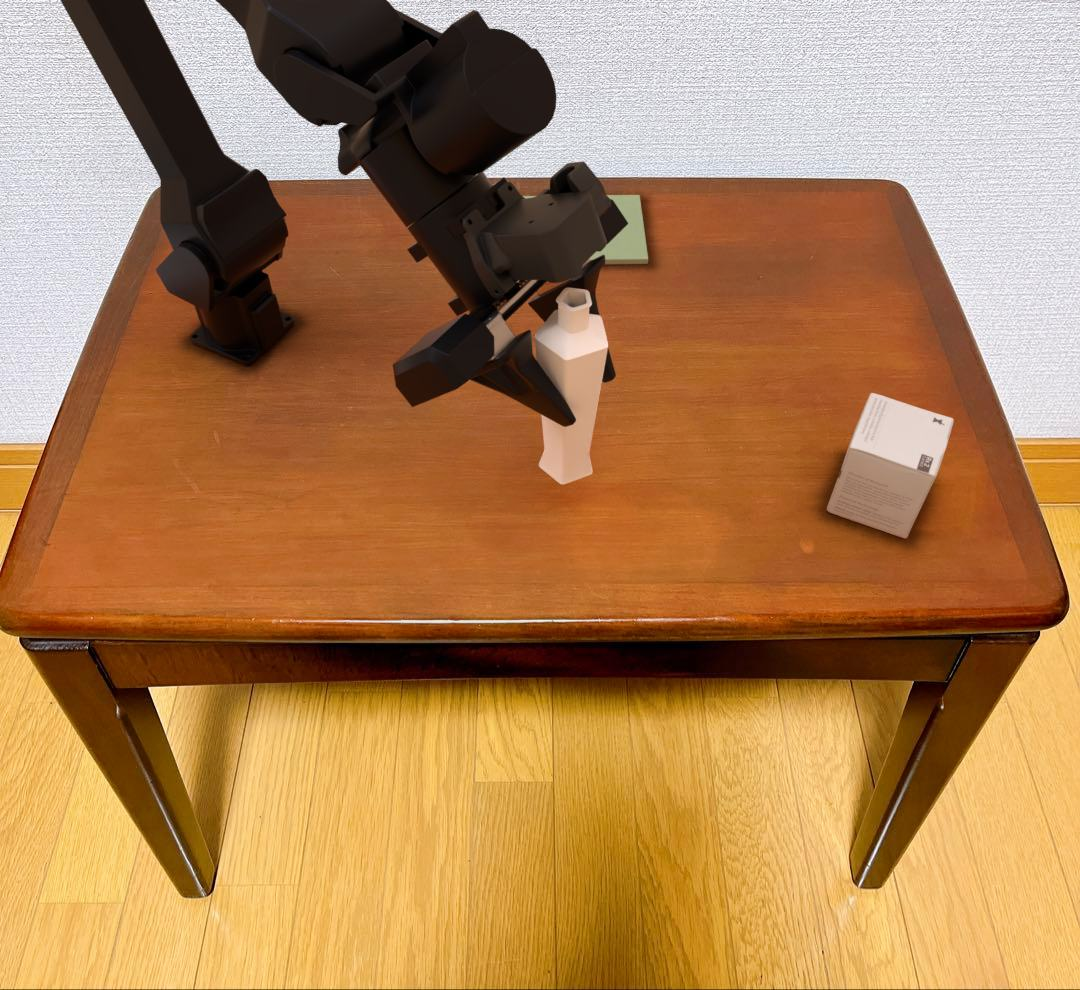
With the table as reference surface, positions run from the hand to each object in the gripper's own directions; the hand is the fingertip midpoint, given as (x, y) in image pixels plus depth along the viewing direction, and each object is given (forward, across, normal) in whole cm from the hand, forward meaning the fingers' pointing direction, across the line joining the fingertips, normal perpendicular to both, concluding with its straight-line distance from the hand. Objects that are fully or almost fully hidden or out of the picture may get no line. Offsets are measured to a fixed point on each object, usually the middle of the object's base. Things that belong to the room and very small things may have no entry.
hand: (590, 402), depth 66 cm
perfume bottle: (+4, 0, +6) cm, 7 cm away
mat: (-5, +28, +22) cm, 35 cm away
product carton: (+20, +13, -4) cm, 24 cm away
